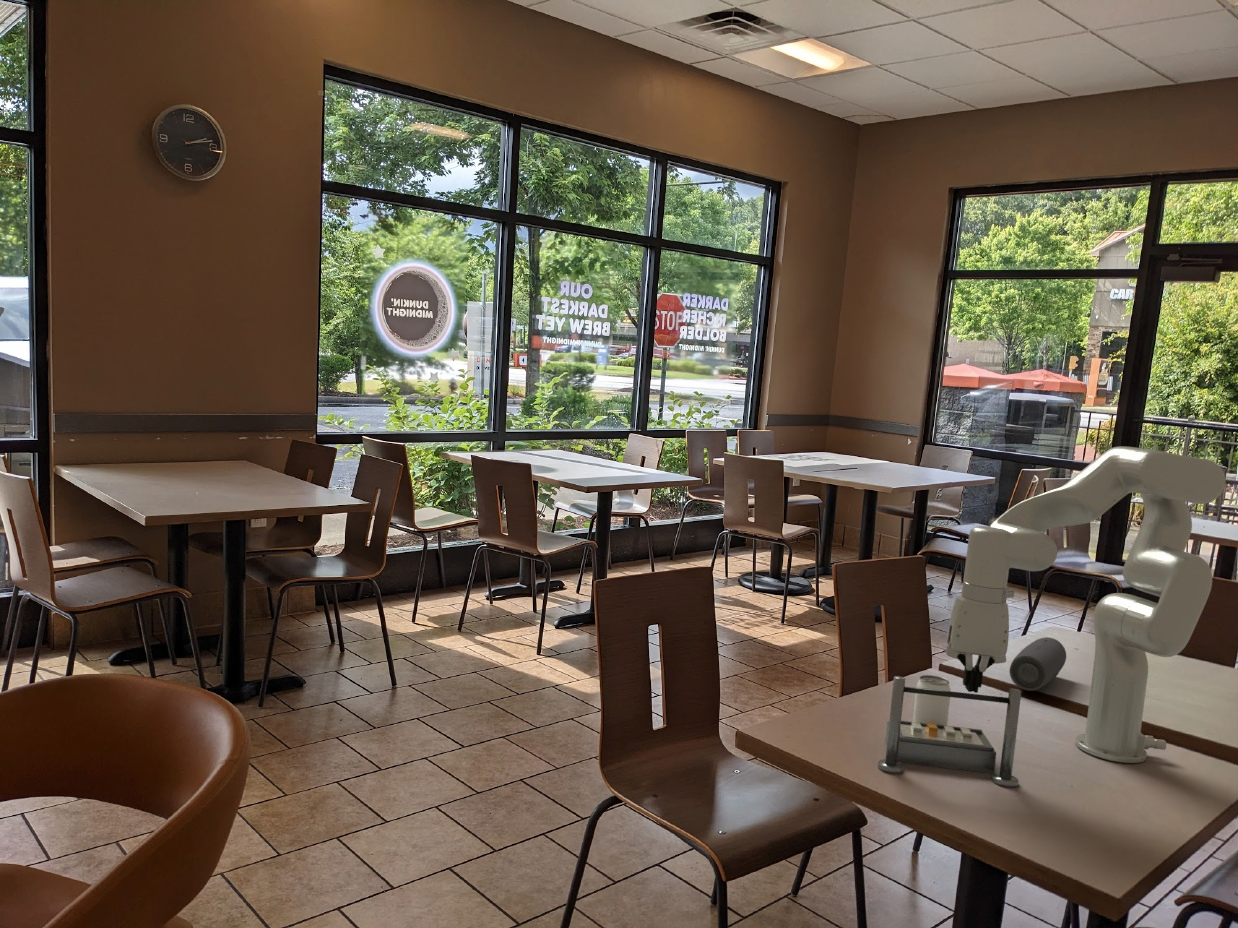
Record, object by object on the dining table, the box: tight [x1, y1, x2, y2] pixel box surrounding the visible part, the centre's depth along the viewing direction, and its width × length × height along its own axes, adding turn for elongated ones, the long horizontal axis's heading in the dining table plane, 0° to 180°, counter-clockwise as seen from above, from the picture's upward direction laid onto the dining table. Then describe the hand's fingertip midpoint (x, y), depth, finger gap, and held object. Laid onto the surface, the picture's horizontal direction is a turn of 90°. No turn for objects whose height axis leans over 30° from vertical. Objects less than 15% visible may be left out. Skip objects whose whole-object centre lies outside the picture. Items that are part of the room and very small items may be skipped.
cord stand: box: [877, 675, 1022, 789], centre depth 171 cm, size 24×4×17 cm, turn 82°
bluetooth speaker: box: [1009, 636, 1067, 692], centre depth 230 cm, size 23×9×10 cm, turn 144°
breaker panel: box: [884, 720, 997, 774], centre depth 180 cm, size 18×10×6 cm, turn 82°
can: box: [912, 674, 952, 726], centre depth 189 cm, size 6×6×12 cm
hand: (971, 689), depth 177 cm, fingers closed
